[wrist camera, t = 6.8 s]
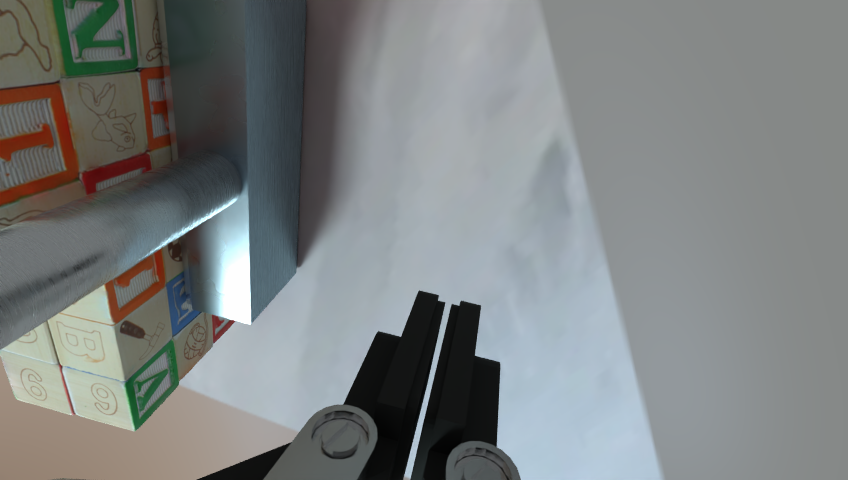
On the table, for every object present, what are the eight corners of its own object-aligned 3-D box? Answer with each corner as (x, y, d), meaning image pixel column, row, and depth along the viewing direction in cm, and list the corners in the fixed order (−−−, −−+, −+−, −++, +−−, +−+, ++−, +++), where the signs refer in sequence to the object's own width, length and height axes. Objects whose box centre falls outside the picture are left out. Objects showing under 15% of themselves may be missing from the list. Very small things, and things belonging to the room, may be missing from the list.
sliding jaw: (308, -1, 19) (-248, -77, 5) (297, 273, 26) (35, 573, 11) (230, -16, 19) (-495, -124, 5) (239, 258, 26) (-86, 534, 12)
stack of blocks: (245, 316, 28) (76, 499, 17) (155, 293, 29) (-65, 457, 18) (232, -96, 18) (-175, -275, 8) (95, -119, 19) (-469, -315, 8)
